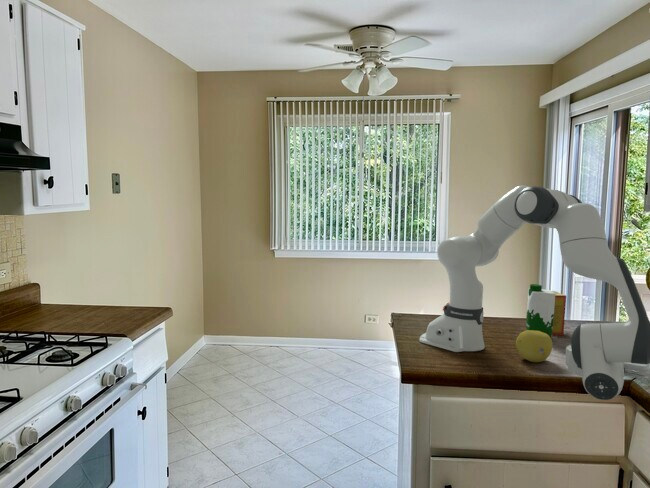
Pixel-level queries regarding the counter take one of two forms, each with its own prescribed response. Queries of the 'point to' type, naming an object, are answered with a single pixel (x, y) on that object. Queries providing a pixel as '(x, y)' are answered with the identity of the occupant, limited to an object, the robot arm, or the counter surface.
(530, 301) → the milk carton
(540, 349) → the fruit
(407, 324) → the counter surface
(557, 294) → the baking soda box
